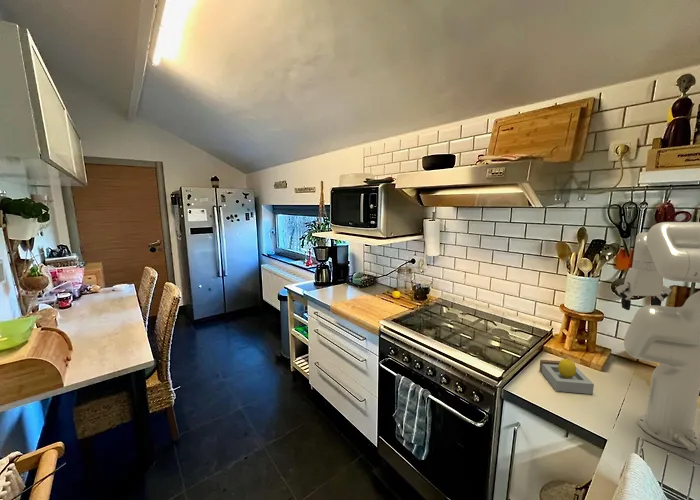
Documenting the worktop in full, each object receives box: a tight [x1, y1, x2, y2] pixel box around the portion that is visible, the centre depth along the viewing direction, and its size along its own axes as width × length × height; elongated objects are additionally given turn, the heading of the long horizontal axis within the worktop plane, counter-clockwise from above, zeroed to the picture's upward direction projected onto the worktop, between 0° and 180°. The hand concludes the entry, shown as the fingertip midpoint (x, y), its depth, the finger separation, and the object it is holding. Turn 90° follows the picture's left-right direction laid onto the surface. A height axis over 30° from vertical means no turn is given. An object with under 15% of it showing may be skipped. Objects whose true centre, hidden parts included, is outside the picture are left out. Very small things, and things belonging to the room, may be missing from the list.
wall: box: [538, 359, 561, 374], centre depth 120 cm, size 2×12×5 cm, turn 80°
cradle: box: [541, 364, 595, 395], centre depth 113 cm, size 12×12×4 cm
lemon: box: [558, 358, 577, 378], centre depth 112 cm, size 6×6×8 cm
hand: (640, 309), depth 112 cm, fingers open, 9 cm apart
